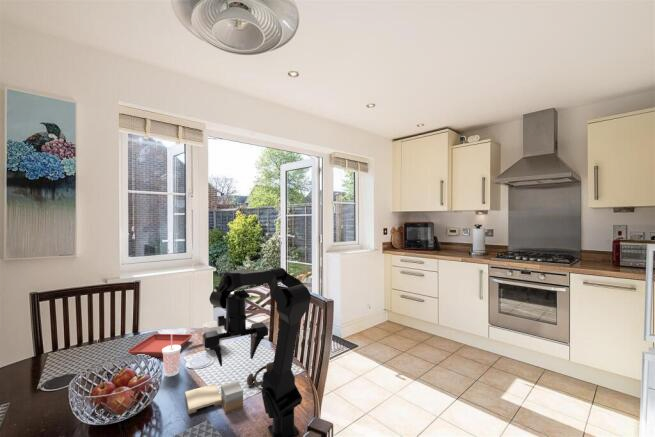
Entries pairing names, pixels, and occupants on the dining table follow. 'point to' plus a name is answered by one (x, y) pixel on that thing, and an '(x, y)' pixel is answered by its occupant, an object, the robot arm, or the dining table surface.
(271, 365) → the brown looped cylinder
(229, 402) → the housing
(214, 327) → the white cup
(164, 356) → the beverage cup
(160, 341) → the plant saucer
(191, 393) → the cream slab
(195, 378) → the dining table surface
